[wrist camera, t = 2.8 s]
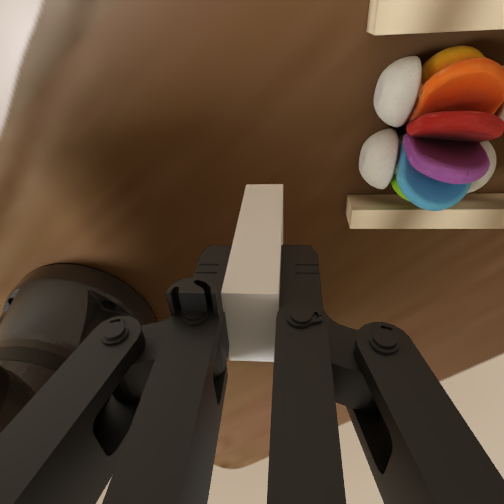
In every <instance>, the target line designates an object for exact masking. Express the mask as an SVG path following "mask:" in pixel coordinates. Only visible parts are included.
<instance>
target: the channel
mask: <svg viewBox="0 0 504 504" xmlns="http://www.w3.org/2000/svg"><path fill="white" fill-rule="evenodd" d="M496 29H504V0H370V4H369V13H368V21H367V30H366V32H368V33H370V34H372V35H393V34H414V33H434V32H455V31H476V30H496ZM346 216H347V220H348V223H349V227H350V229H504V193H483V194H466V195H465V196H464V197H463V198H462V199H461V200H460V201H459V202H458V203H457V204H455V205H454V206H452V207H450V208H447V209H444V210H441V211H429V210H425V209H422V208H420V207H418V206H416V205H414V204H413V203H412V202H410V201H407V200H405V199H403V198H402V197H401V196H399V195H398V194H376V195H348V196H347V205H346Z"/></svg>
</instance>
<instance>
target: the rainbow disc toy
mask: <svg viewBox="0 0 504 504" xmlns="http://www.w3.org/2000/svg"><path fill="white" fill-rule="evenodd" d="M374 108H375V111H376V113H377V114H378V116H379V117H380V118H381V119H382V120H383V121H384V122H385V123H386V124H388V125H390V126H393V127H400V126H402V125H403V124H405V123H407V122H409V123H408V124H407V126H406V130H407V133H406V134H405V135H399V136H398V134H397V132H396V131H395V130H394V129H391V128H389V129H384V130H381V131H378V132H376V133H375V134H373V135H372V136H370V137H369V138H368V139H367V140H366V141H365V143H364V144H363V146H362V149H361V152H360V157H359V171H360V173H361V175H362V177H363V178H364V180H365V181H366V182H367V183H368V184H370V185H371V186H373V187H375V188H378V189H385V188H386V187H387V186H388V184H389V183H391V185H392V187H393V189H394V190H395V192H396V193H397V194H398V195H399V196H401V197H402V198H403V199H405V200H407V201H410V202H412V203H413V204H414V205H416V206H418V207H420V208H422V209H425V210H429V211H441V210H444V209H447V208H450V207H452V206H454V205H455V204H457V203H458V202H459V201H460V200H461V199H462V198H463V197H464V196H465V195H466V194H467V193H470V192H473V191H475V190H477V189H479V188H481V187H482V186H483V185H485V184H486V183H487V182H488V181H489V179H490V178H491V176H492V175H493V173H494V171H495V168H496V153H495V150H494V148H493V146H492V145H491V143H490V142H489V141H488V140H492V139H496V138H498V137H500V136H501V135H502V134H503V132H504V65H502V66H501V65H499V64H498V63H497V62H495V61H493V60H491V59H488V58H485V57H484V55H483V54H482V53H481V52H480V51H479V50H477V49H475V48H473V47H470V46H454V47H450V48H447V49H444V50H442V51H440V52H438V53H437V54H435V55H434V56H432V57H431V58H430V59H429V60H427V61H426V62H425V63H424V65H423V66H421V61H420V59H419V57H417V56H408V57H404V58H401V59H399V60H397V61H395V62H393V63H392V64H390V65H389V66H388V67H387V68H386V69H385V70H384V71H383V72H382V74H381V75H380V77H379V79H378V82H377V85H376V89H375V93H374Z"/></svg>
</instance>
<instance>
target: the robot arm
mask: <svg viewBox="0 0 504 504" xmlns="http://www.w3.org/2000/svg"><path fill="white" fill-rule="evenodd" d="M166 296H167V300H168V304H169V308H170V312H171V317H170V318H168V319H166V320H163V321H160V322H156V319H155V316H154V314H153V312H152V310H151V309H150V307H149V306H148V304H147V303H146V302H145V300H144V299H143V298H142V297H141V296H140V295H139V294H138V293H137V292H136V291H134V290H133V289H132V288H131V287H129V286H128V285H127V284H125V283H124V282H122V281H120V280H119V279H117V278H115V277H113V276H111V275H109V274H107V273H104V272H102V271H99V270H96V269H93V268H89V267H85V266H80V265H73V264H54V265H48V266H43V267H40V268H38V269H35V270H34V271H32V272H30V273H29V274H27V275H26V276H25V277H24V278H23V279H22V280H21V282H20V283H19V284H18V285H17V286H16V287H15V288H14V289H13V290H12V291H11V293H10V294H9V296H8V297H7V299H6V302H5V305H4V308H3V314H2V316H1V317H0V504H96V502H97V500H98V499H99V497H100V495H101V494H102V492H103V490H104V489H105V487H106V485H107V484H108V482H109V480H110V479H111V477H112V479H111V481H110V484H109V486H108V489H107V492H106V495H105V497H104V500H103V503H102V504H207V501H208V495H209V489H210V483H211V476H212V470H213V464H214V458H215V452H216V446H217V439H218V433H219V427H220V421H221V415H222V408H223V402H224V396H225V390H226V384H227V377H228V374H227V365H226V363H227V358H228V352H229V358H230V360H238V361H262V362H274V371H273V391H272V411H271V431H270V451H269V472H268V493H267V504H346V498H345V488H344V479H343V469H342V460H341V450H340V441H339V431H338V422H337V412H336V403H335V402H337V403H339V404H342V405H345V406H346V407H347V410H348V413H349V415H350V418H351V420H352V423H353V426H354V428H355V431H356V433H357V436H358V438H359V441H360V443H361V446H362V448H363V451H364V454H365V456H366V459H367V461H368V464H369V466H370V469H371V471H372V474H373V476H374V479H375V482H376V484H377V487H378V489H379V492H380V494H381V497H382V499H383V502H384V504H504V479H503V478H502V476H501V475H500V473H499V472H498V470H497V469H496V467H495V466H494V464H493V463H492V461H491V460H490V458H489V457H488V455H487V454H486V452H485V451H484V449H483V447H482V446H481V444H480V443H479V441H478V440H477V439H476V437H475V436H474V434H473V432H472V431H471V430H470V428H469V426H468V425H467V423H466V422H465V420H464V419H463V417H462V416H461V414H460V413H459V411H458V410H457V408H456V407H455V405H454V404H453V402H452V401H451V399H450V398H449V396H448V395H447V394H446V392H445V390H444V389H443V387H442V385H441V384H440V382H439V381H438V379H437V378H436V376H435V375H434V373H433V372H432V370H431V369H430V367H429V366H428V364H427V363H426V361H425V360H424V358H423V357H422V355H421V354H420V352H419V351H418V349H417V348H416V346H415V345H414V343H413V342H412V340H411V339H410V337H409V336H408V335H407V334H406V333H405V332H404V331H403V330H401V329H399V328H398V327H396V326H394V325H391V324H388V323H384V322H372V323H369V324H366V325H364V326H363V327H361V328H360V329H359V330H355V329H352V328H348V327H345V326H343V325H340V324H338V323H336V322H334V321H333V320H332V319H330V318H329V317H328V316H327V314H326V313H325V311H324V309H323V305H322V295H321V285H320V275H319V266H318V255H317V253H316V252H315V251H314V249H313V248H312V247H311V245H283V184H246V188H245V192H244V196H243V200H242V205H241V209H240V213H239V218H238V222H237V226H236V231H235V235H234V239H233V243H232V246H223V245H209V246H208V247H207V248H206V249H205V250H204V251H203V252H202V253H201V255H200V258H199V261H198V265H197V267H196V269H195V274H194V275H193V277H188V278H184V279H181V280H179V281H177V282H175V283H174V284H172V285H171V286H170V287H169V288H168V290H167V291H166ZM112 475H113V476H112Z"/></svg>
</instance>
